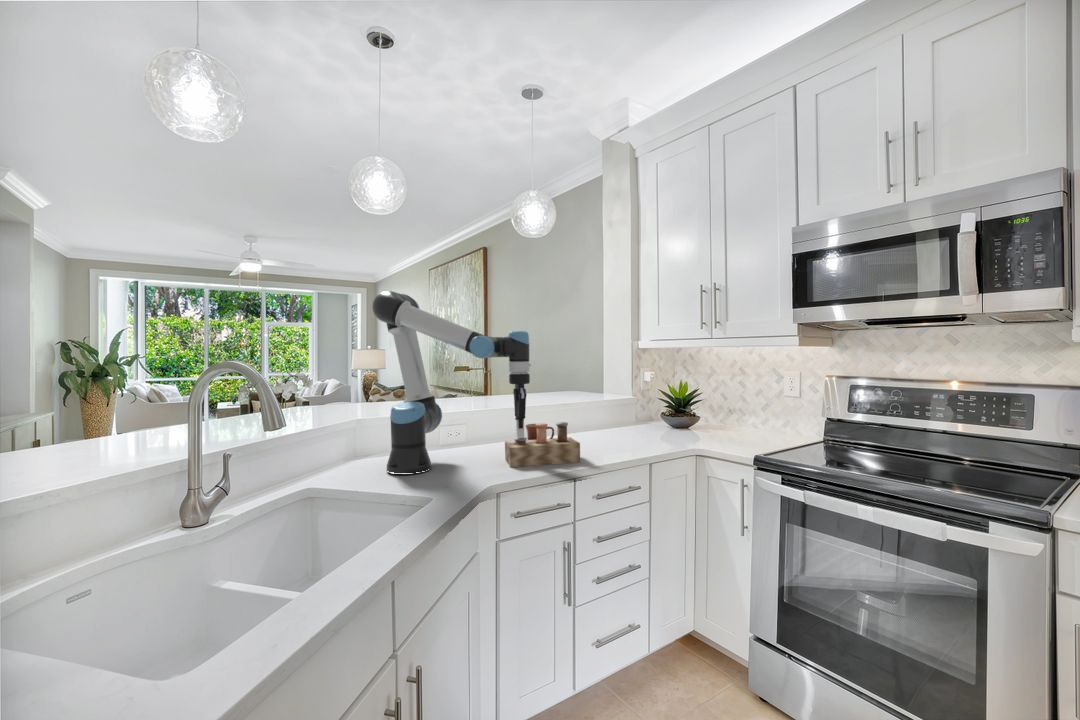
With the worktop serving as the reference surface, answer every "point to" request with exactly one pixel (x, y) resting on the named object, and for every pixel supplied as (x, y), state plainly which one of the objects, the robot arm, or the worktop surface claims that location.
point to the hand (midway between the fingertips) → (520, 436)
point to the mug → (535, 431)
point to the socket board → (542, 452)
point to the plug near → (520, 440)
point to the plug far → (562, 431)
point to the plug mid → (541, 433)
